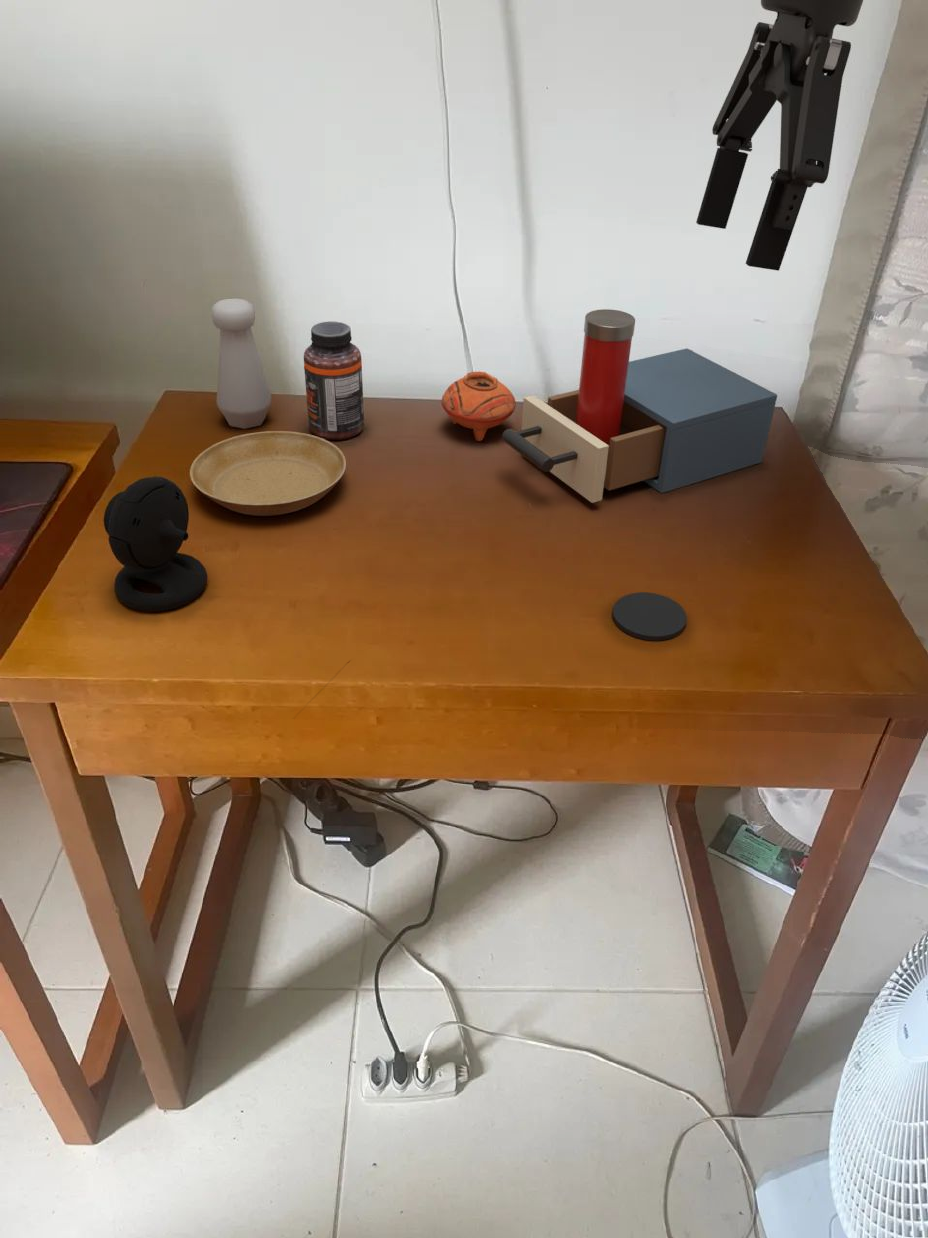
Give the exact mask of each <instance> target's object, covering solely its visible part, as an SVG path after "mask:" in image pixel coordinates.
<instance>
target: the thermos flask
mask: <svg viewBox="0 0 928 1238" xmlns="http://www.w3.org/2000/svg"><path fill="white" fill-rule="evenodd" d="M635 326H636V318H635V316H634V315H632V314H631V313H628V312H625V311H623V310H617V309H607V308H606V309H605V308H604V309H595V310H591V311H589V312H587V313H586V314H585V317H584V326H583V332H584V336H583V344H582V345H583V346H582V354H581V355H582V356H581V365H580V375H579V386H578V390H579V394H578V403H577V413H576V424H577V425H579V426H580V427H582V428H583V429H585V430H586V431H588V432H589V433H591V434H592V435H594V436H595V437H597V438H598V439H600V440H601V441H603V442H604V443H606V444H607V445H610V438H612V437H616V436H619V432H620V424H621V417H622V409H623V402H624V394H625V387H626V379H627V372H628V364H629V362H630V357H631V356H630V355H631V348H632V341H633V340H632V339H633V337H634V335H635ZM608 452H609V448H608ZM607 460H608V456H607Z"/></svg>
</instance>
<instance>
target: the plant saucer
mask: <svg viewBox="0 0 928 1238" xmlns="http://www.w3.org/2000/svg"><path fill="white" fill-rule="evenodd" d="M346 467H347V461H346V457H345V455H344V453H343V451H342V450H341V449H340V448H339V447H338V446H337V445H335V444H334V443H332V442H330V441H329V440H328V439H325V438H321V437H319V436H317V435H312V434H309V433H306V432H305V433H304V432H299V431H285V430H269V431H259V432H258V431H257V432H251V433H245V434H244V433H243V434H240V435H236V436H233V437H229V438H226V439H224V440H221V441H218V442H217V443H214V444H212V445H211V446H209V447H208V448H206V449H204V450H203V451H202V452H200V453H199V455H197V456H196V458H195V459H194V460H193V462H192V464H191V466H190V469H189V477H190V480H191V482H192V484H193V485H194V486H195V487H196V488H197V489H198V490H199V491H200V492H201V493H202V494H203V495H204V496H206V497H207V498H208V499H209V500H211V501H213V502H214V503H217V504H218V505H220V506H222V507H224V508H226V509H228V510H230V511H232V512H236V513H239V514H241V515H242V514H243V515H248V516H258V517H268V516H269V517H270V516H271V517H272V516H281V515H285V514H289V513H294V512H297V511H300V510H303V509H306V508H308V507H310V506H312V505H314V504H315V503H317V502H318V501H320V500H321V499H323V498H324V497H325V496H326V495H327V494H329V492H330V491H331V490H332V489H334V487H335V486H336V485H337V484H338V483H339V481H340V480H341V478H342V477H343V475H344V474H345V471H346Z"/></svg>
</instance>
